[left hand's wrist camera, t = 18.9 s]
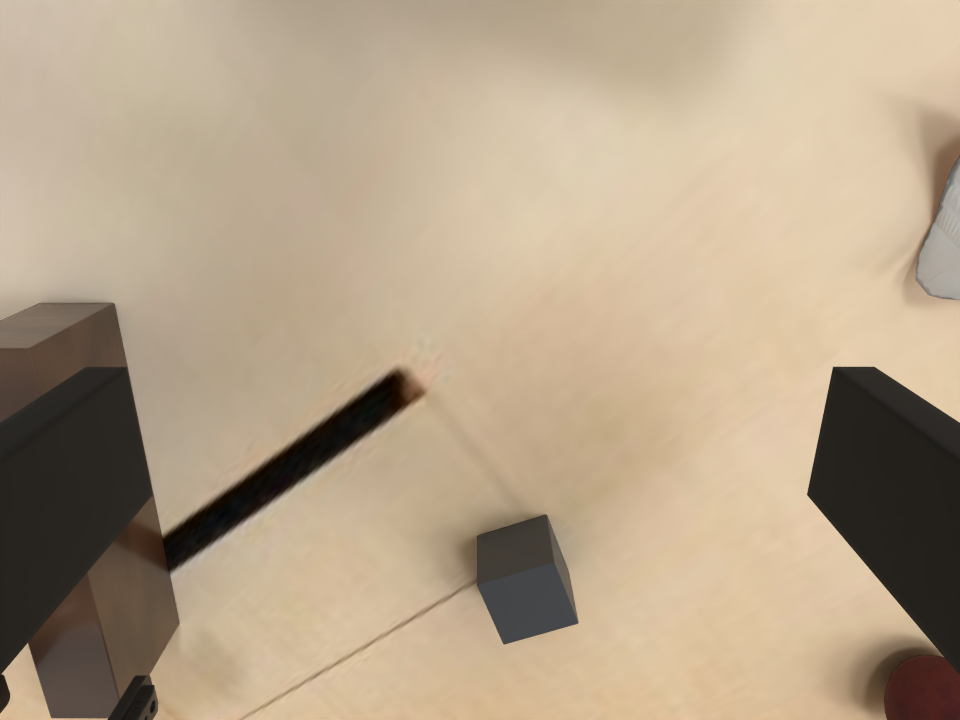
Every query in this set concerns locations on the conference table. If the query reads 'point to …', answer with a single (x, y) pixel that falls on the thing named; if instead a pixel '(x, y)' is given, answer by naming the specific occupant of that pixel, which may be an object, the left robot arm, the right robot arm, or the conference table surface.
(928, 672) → the dark red ball
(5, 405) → the walnut bar
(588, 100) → the conference table surface
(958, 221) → the red white cowboy hat
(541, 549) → the charcoal cube
